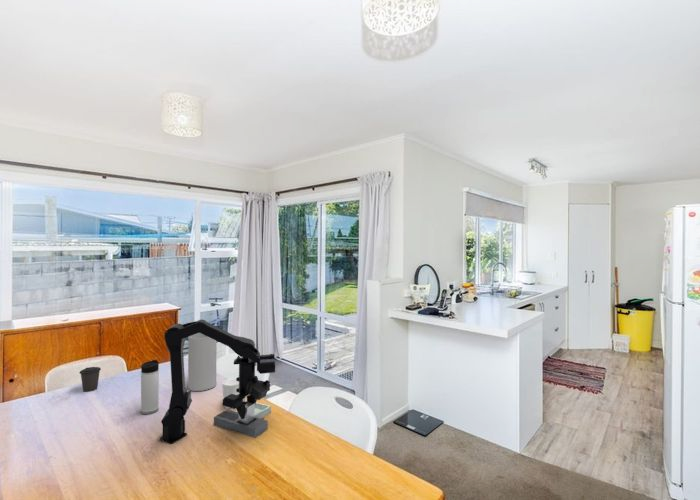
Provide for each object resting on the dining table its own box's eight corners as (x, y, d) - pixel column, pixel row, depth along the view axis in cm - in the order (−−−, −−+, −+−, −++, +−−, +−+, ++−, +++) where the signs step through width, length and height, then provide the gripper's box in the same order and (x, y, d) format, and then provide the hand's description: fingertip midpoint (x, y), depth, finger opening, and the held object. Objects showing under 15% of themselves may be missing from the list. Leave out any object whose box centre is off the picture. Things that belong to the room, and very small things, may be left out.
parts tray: (254, 423, 131) (254, 416, 131) (234, 417, 136) (234, 411, 136) (270, 412, 140) (270, 406, 140) (251, 407, 145) (251, 401, 145)
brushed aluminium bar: (247, 429, 125) (247, 407, 125) (238, 427, 127) (238, 405, 127) (254, 424, 129) (254, 403, 129) (246, 422, 131) (246, 401, 130)
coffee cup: (83, 387, 164) (83, 366, 164) (103, 385, 167) (103, 364, 167) (76, 394, 156) (76, 372, 156) (96, 391, 159) (96, 370, 159)
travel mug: (162, 407, 144) (162, 360, 144) (152, 415, 138) (152, 365, 137) (148, 406, 145) (148, 359, 144) (137, 414, 138) (137, 364, 138)
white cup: (238, 409, 143) (238, 385, 143) (219, 409, 143) (219, 385, 143) (244, 400, 151) (244, 378, 151) (226, 400, 151) (226, 378, 151)
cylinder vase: (192, 382, 171) (192, 332, 171) (218, 380, 173) (218, 331, 173) (184, 392, 159) (184, 338, 158) (213, 390, 161) (213, 337, 161)
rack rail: (254, 438, 122) (254, 429, 122) (213, 424, 130) (213, 416, 130) (267, 428, 128) (267, 420, 128) (227, 416, 137) (227, 409, 137)
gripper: (245, 387, 116) (245, 433, 116) (280, 369, 133) (279, 410, 133) (221, 381, 121) (221, 426, 121) (257, 365, 137) (257, 404, 138)
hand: (246, 416), depth 128 cm, fingers closed on brushed aluminium bar, 4 cm apart
